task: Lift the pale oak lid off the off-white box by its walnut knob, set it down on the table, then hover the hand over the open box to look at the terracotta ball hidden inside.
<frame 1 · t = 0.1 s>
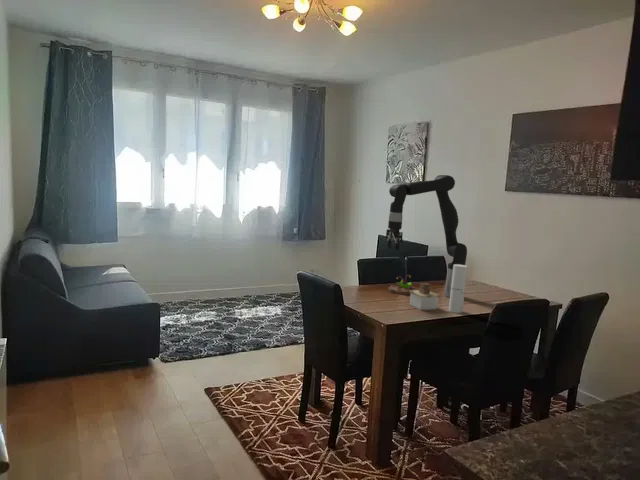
hand: (392, 248, 264), 29 cm above the table, tool pointing down, fingers open, 8 cm apart
off-white box: (423, 307, 255), on the table
plant: (404, 292, 289), on the table
cylindrical container: (455, 311, 251), on the table
oak lid: (424, 294, 254), point 7 cm above the table, touching off-white box
terracotta ball: (423, 302, 254), point 3 cm above the table, touching off-white box
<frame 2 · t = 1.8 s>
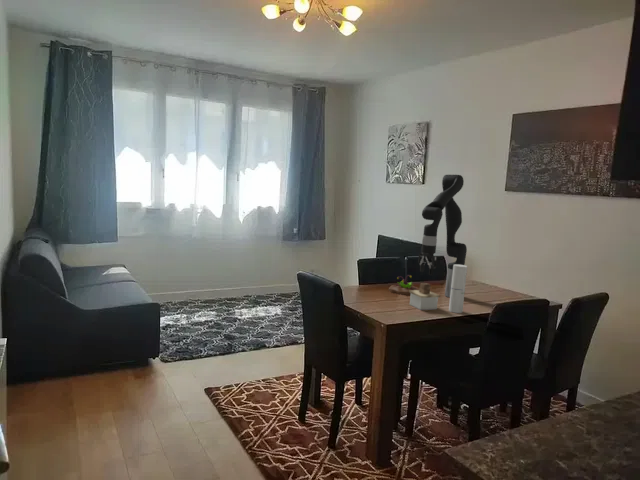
hand: (426, 273, 252), 19 cm above the table, tool pointing down, fingers open, 8 cm apart
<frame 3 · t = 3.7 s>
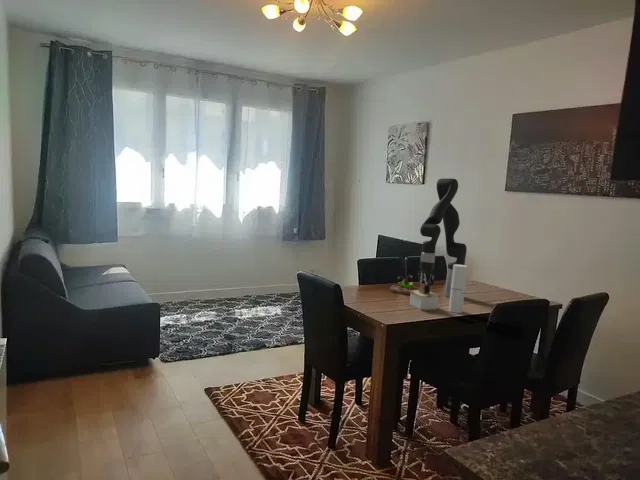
hand: (424, 291, 254), 9 cm above the table, tool pointing down, fingers closed on oak lid, 4 cm apart
oak lid: (424, 294, 254), point 7 cm above the table, touching gripper, off-white box
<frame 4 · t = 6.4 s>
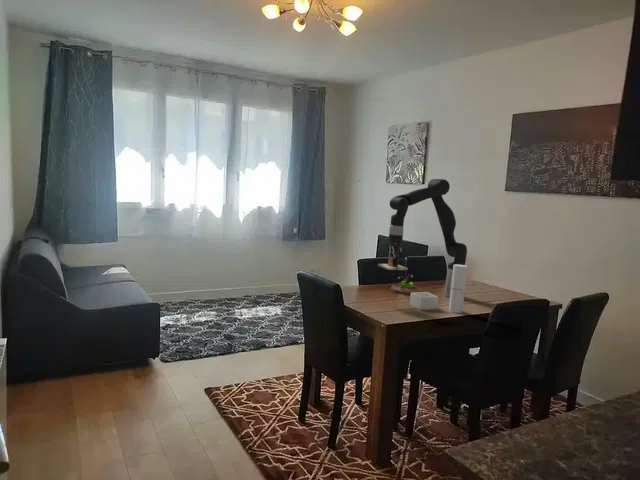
hand: (393, 264, 256), 22 cm above the table, tool pointing down, fingers closed on oak lid, 4 cm apart
oak lid: (392, 267, 256), point 20 cm above the table, touching gripper
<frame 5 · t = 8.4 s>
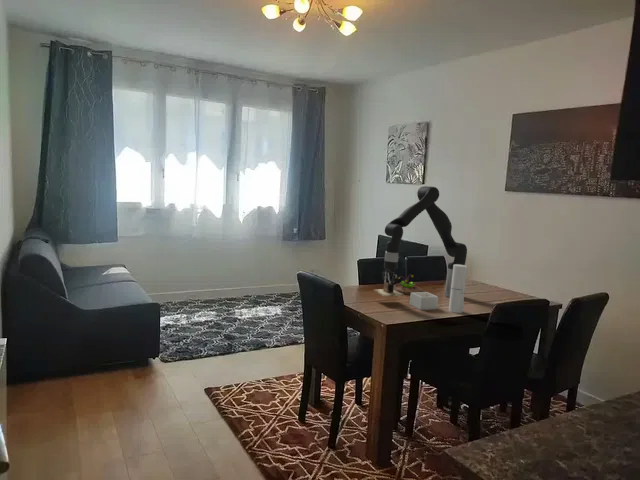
hand: (388, 290, 258), 7 cm above the table, tool pointing down, fingers closed on oak lid, 4 cm apart
oak lid: (388, 293, 258), point 5 cm above the table, touching gripper
when the fingers open (3 cm above the table, at t = 9.4 s): oak lid drops 2 cm, on the table.
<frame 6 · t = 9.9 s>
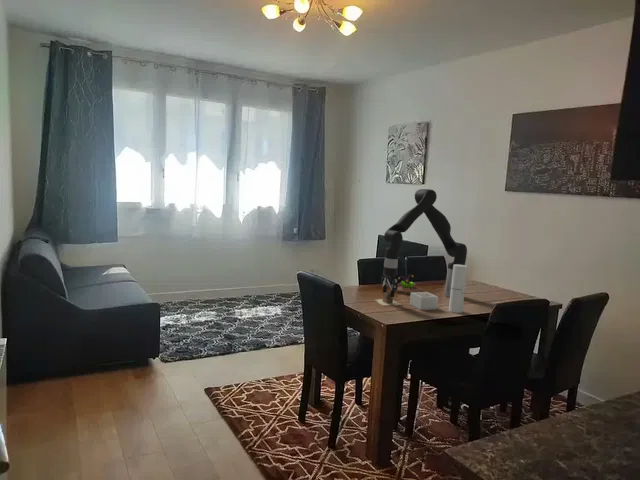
hand: (388, 295, 258), 4 cm above the table, tool pointing down, fingers open, 8 cm apart
oak lid: (387, 303, 259), on the table
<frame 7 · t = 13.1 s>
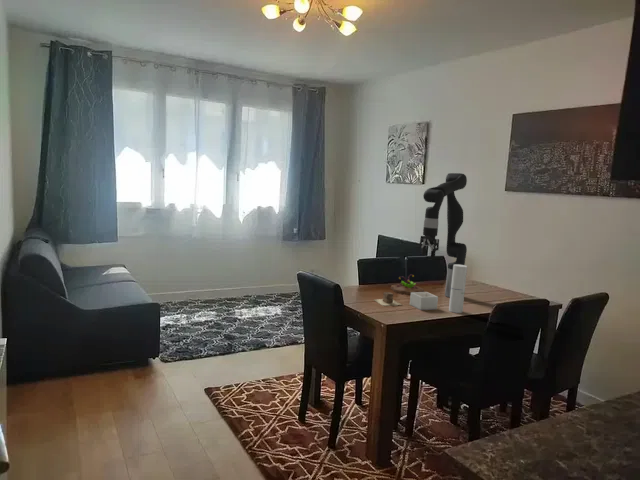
hand: (427, 256, 251), 28 cm above the table, tool pointing down, fingers open, 8 cm apart
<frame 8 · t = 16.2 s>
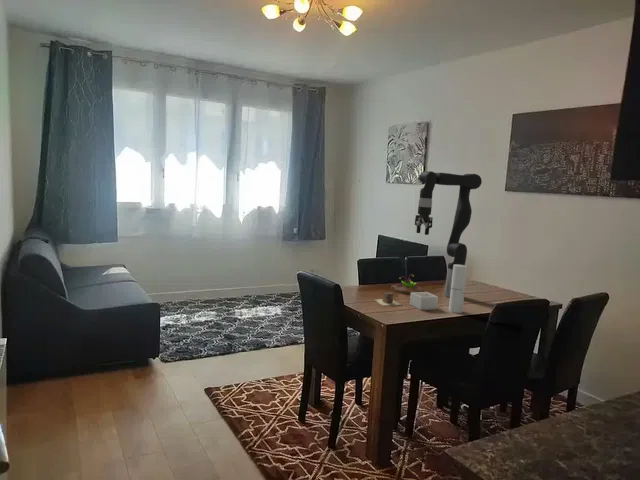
hand: (422, 233, 270), 38 cm above the table, tool pointing down, fingers open, 8 cm apart
at the end: oak lid inside the target area (0.0 cm from its centre), on the table; oak lid touching table; oak lid tilted 0° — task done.
